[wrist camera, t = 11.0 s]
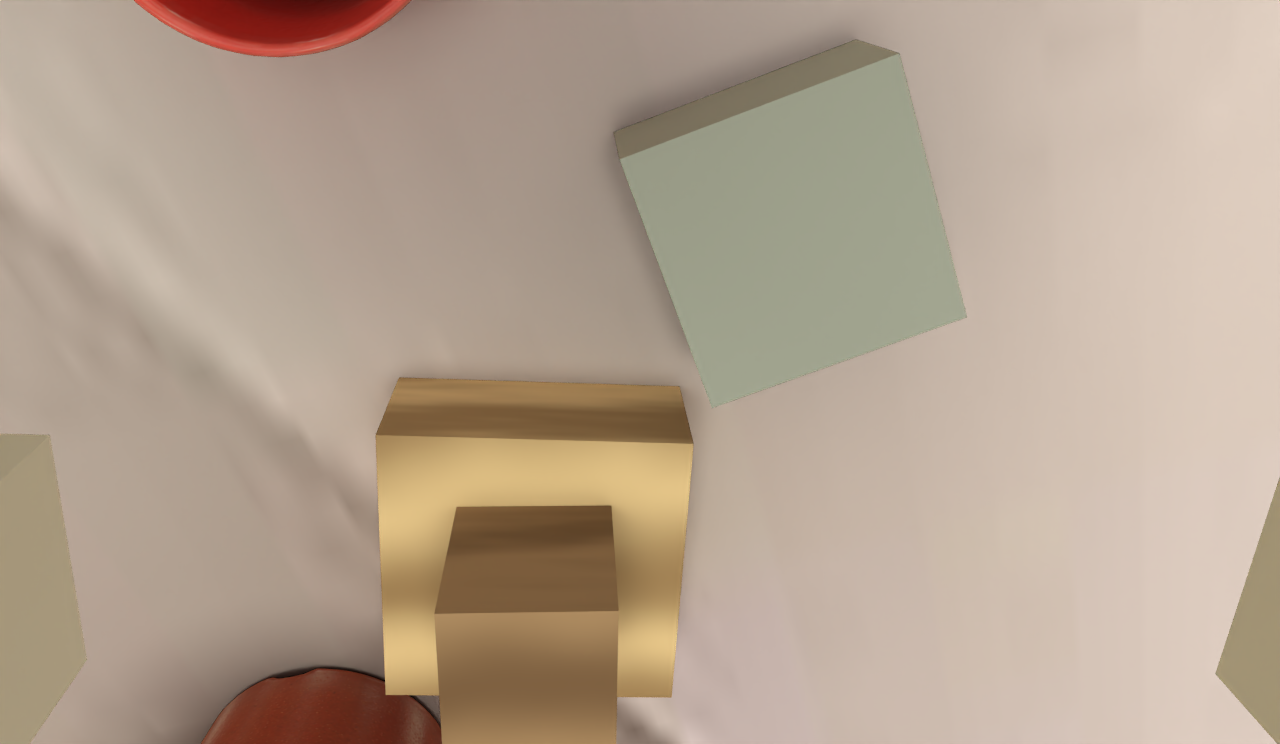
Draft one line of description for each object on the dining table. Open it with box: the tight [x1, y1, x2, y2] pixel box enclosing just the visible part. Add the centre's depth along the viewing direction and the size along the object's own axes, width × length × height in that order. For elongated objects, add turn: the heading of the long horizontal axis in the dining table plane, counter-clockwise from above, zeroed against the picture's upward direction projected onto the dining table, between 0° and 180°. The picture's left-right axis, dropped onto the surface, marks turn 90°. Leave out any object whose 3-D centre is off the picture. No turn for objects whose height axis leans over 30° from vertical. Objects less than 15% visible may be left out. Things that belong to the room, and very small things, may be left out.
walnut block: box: [434, 506, 619, 744], centre depth 38 cm, size 6×6×7 cm
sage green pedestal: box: [614, 40, 967, 408], centre depth 40 cm, size 10×10×6 cm
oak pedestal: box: [376, 378, 693, 697], centre depth 44 cm, size 12×12×6 cm
